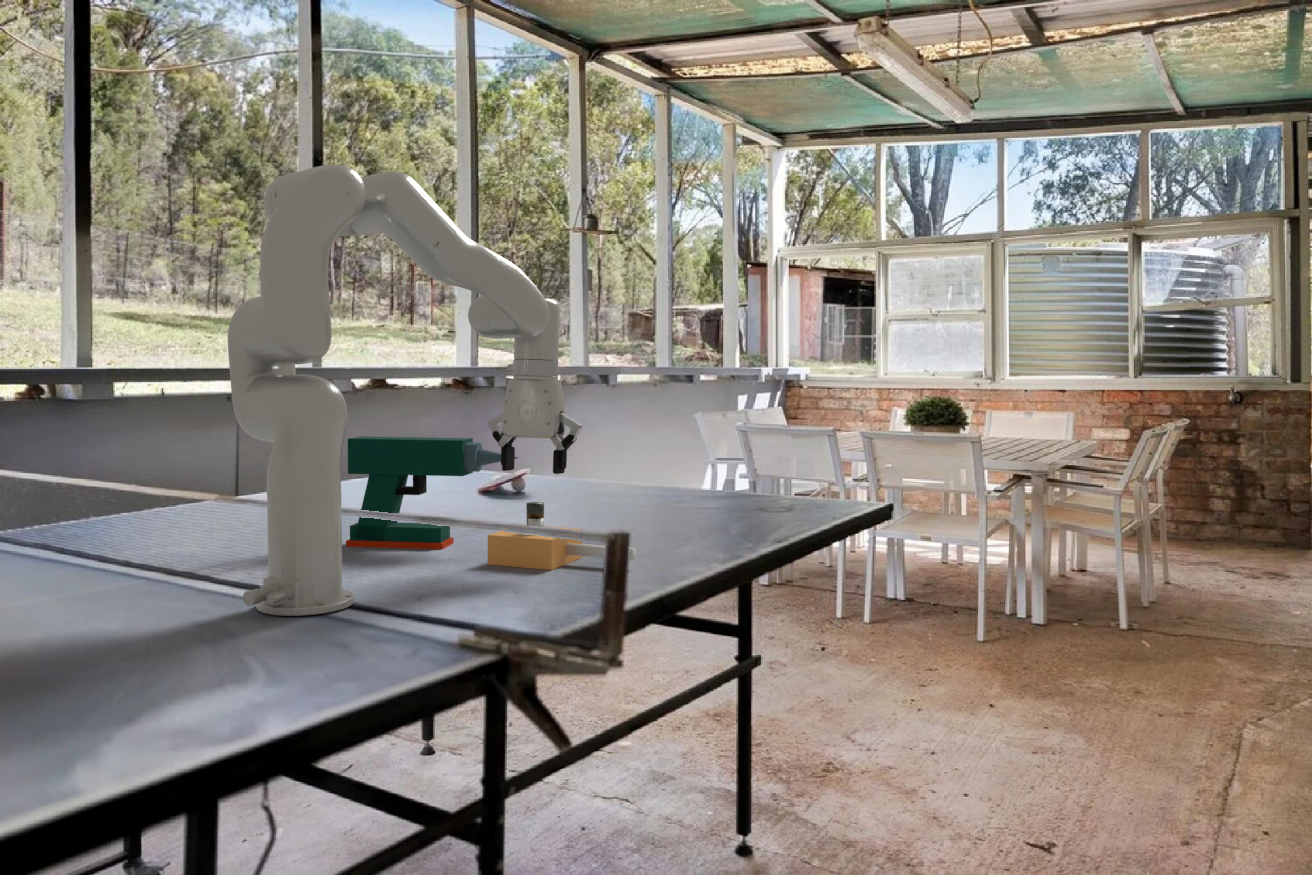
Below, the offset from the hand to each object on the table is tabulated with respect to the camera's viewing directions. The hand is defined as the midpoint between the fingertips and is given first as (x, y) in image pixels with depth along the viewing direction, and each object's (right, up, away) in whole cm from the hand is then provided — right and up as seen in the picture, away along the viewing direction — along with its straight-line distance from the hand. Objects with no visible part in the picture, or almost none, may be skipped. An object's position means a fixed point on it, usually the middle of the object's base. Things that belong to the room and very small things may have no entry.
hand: (533, 471), depth 164 cm
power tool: (-20, -15, +16) cm, 29 cm away
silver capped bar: (0, -15, +2) cm, 15 cm away
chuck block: (+6, -16, -1) cm, 17 cm away
